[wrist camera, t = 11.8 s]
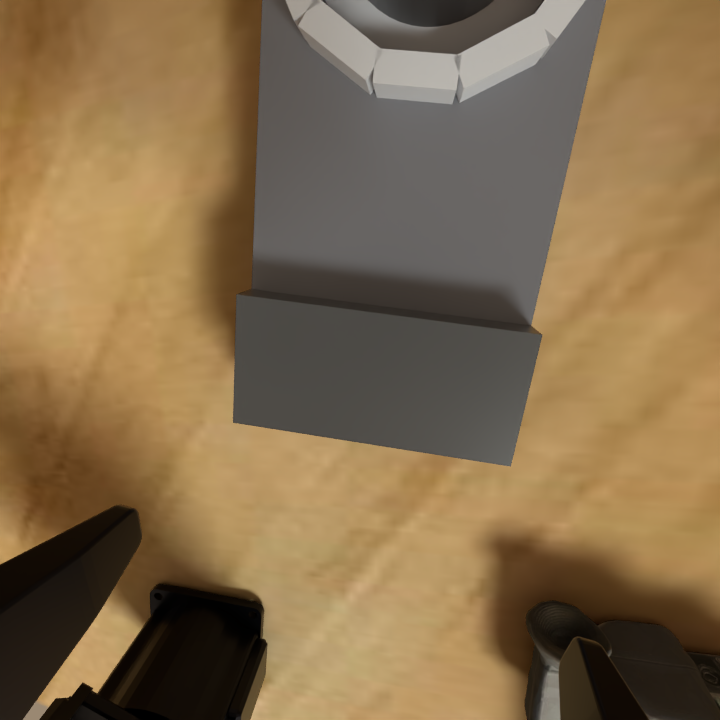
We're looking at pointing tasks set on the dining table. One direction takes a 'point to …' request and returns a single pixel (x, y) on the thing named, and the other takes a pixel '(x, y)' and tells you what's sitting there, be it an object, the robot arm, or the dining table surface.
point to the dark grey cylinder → (430, 10)
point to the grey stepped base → (406, 219)
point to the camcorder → (622, 665)
